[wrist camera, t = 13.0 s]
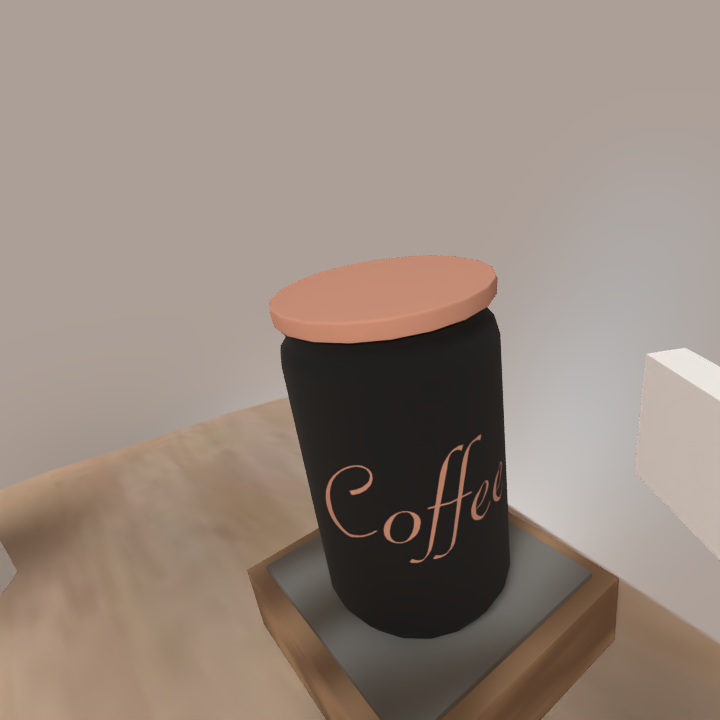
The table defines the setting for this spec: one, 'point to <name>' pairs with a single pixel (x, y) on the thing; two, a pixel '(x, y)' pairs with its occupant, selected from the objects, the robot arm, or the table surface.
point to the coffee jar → (402, 436)
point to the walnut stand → (443, 638)
